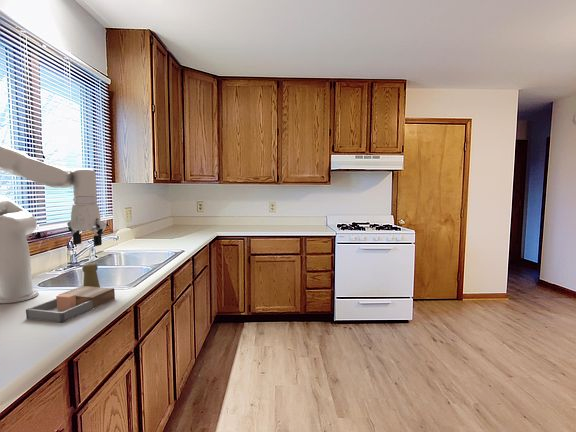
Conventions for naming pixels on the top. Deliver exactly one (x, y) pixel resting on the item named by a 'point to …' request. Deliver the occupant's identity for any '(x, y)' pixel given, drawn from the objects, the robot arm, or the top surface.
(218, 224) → the top surface
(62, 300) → the tile
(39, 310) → the box
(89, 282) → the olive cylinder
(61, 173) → the robot arm
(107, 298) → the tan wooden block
